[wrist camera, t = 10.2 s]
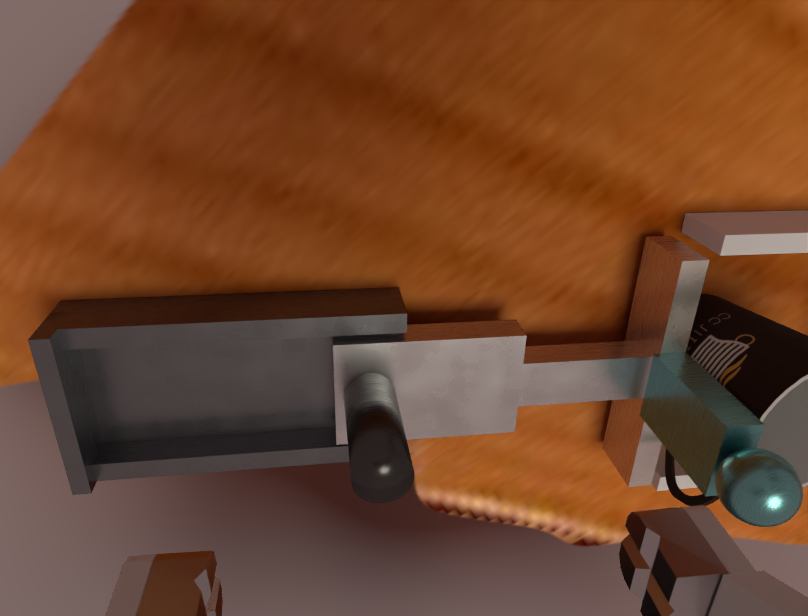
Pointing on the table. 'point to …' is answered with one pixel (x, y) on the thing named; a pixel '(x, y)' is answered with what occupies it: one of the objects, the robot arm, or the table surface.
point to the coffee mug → (753, 379)
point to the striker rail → (200, 379)
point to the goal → (739, 238)
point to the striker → (564, 395)
